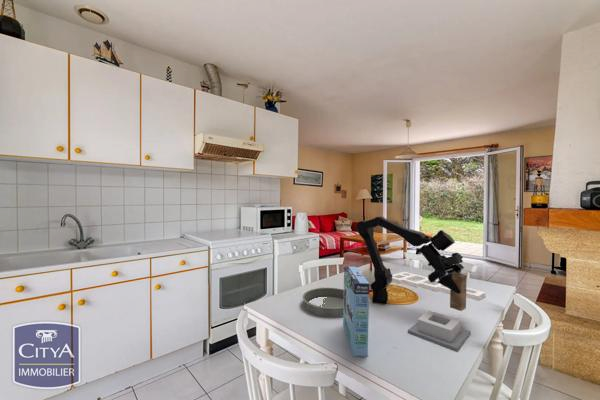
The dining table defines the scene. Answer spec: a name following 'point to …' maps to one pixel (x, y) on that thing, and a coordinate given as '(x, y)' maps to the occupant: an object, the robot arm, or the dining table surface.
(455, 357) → the dining table surface
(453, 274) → the walnut peg
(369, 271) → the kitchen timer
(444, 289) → the holder
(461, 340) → the socket board
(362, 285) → the gum box
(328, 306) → the cake pan
